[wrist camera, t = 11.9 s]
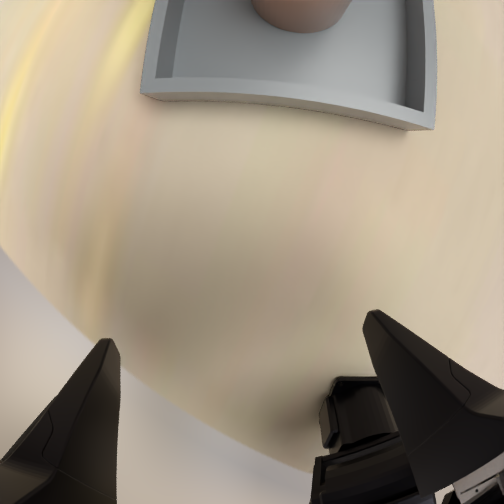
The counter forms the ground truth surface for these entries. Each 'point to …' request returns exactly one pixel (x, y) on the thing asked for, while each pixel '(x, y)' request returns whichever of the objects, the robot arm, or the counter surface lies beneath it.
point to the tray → (298, 60)
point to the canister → (301, 13)
